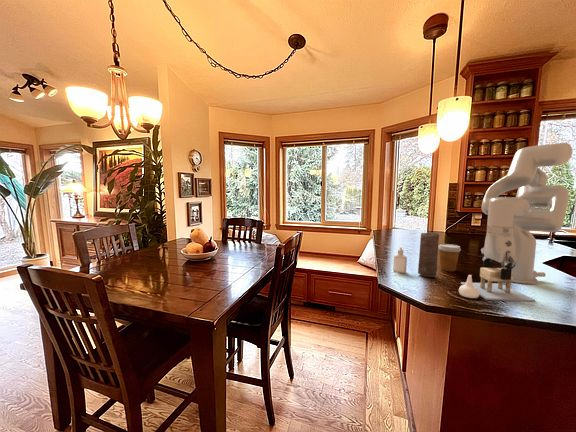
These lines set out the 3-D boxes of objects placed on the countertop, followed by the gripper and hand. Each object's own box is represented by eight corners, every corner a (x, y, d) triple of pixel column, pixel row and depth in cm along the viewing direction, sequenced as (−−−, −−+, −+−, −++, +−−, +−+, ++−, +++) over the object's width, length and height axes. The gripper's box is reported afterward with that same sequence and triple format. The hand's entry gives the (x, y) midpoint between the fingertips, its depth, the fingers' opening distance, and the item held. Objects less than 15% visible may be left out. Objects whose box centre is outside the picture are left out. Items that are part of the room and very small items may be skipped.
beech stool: (500, 287, 100) (502, 268, 99) (511, 293, 94) (513, 272, 94) (478, 287, 101) (480, 267, 100) (488, 292, 95) (490, 271, 94)
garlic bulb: (458, 292, 98) (457, 272, 98) (478, 294, 95) (477, 273, 95) (459, 298, 93) (458, 276, 93) (480, 300, 90) (479, 278, 89)
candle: (439, 279, 111) (441, 234, 109) (420, 278, 112) (423, 234, 110) (432, 274, 118) (435, 231, 116) (415, 273, 119) (417, 231, 118)
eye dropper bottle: (400, 274, 119) (401, 248, 117) (391, 270, 124) (392, 246, 123) (407, 272, 120) (408, 248, 119) (398, 269, 125) (399, 245, 124)
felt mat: (501, 285, 105) (501, 283, 104) (535, 301, 89) (535, 299, 89) (460, 283, 106) (460, 282, 106) (486, 299, 90) (486, 298, 90)
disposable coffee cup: (459, 268, 127) (460, 245, 126) (459, 273, 119) (461, 248, 118) (437, 265, 132) (438, 243, 131) (436, 270, 124) (437, 246, 123)
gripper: (529, 234, 86) (525, 283, 88) (493, 227, 103) (490, 268, 105) (506, 234, 87) (502, 282, 89) (474, 227, 104) (471, 268, 106)
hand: (495, 275), depth 97 cm, fingers open, 9 cm apart
